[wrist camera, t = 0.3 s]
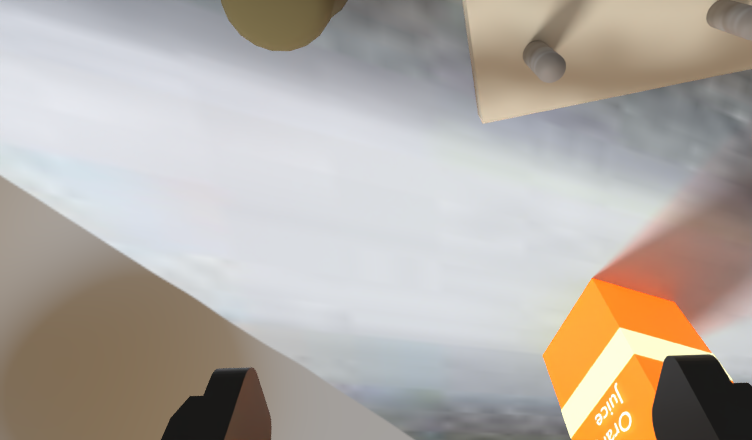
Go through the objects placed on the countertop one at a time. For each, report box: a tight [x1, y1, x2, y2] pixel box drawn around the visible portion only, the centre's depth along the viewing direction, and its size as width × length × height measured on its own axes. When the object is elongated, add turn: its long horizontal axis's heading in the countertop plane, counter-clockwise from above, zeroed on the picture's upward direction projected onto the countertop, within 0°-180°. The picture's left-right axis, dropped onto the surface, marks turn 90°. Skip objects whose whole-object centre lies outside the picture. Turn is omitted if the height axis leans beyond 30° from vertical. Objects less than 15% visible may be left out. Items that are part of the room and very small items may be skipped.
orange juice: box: [543, 278, 733, 440], centre depth 37 cm, size 8×9×20 cm
